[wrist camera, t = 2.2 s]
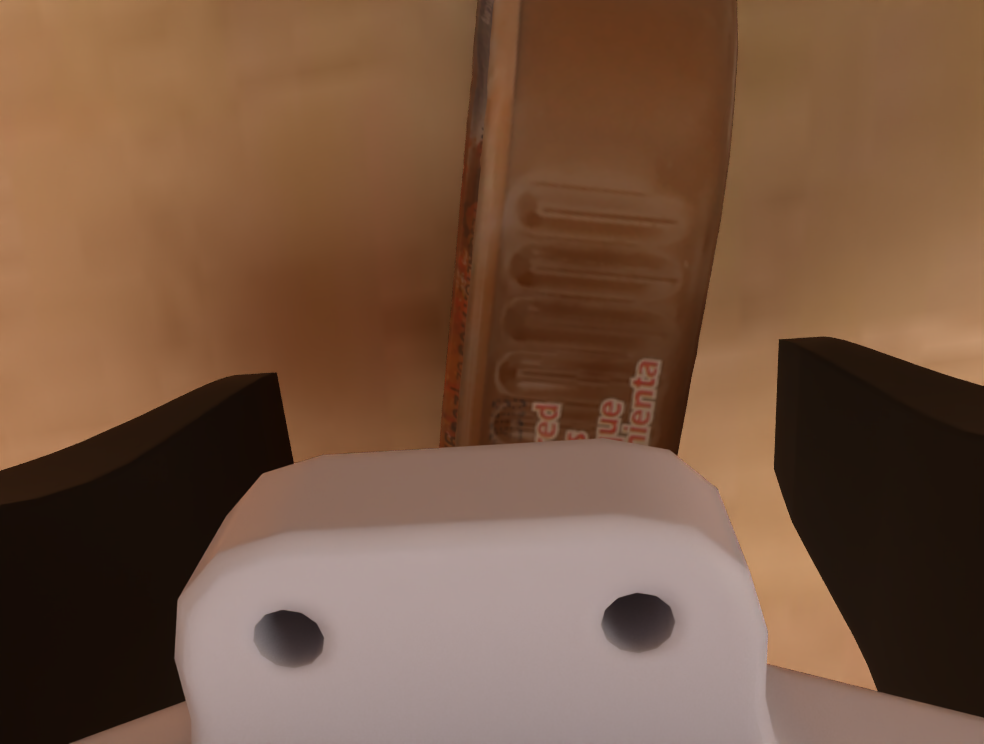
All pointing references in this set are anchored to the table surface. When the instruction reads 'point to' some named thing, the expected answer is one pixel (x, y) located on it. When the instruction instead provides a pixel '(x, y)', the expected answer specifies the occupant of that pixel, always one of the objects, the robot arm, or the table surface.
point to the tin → (587, 218)
